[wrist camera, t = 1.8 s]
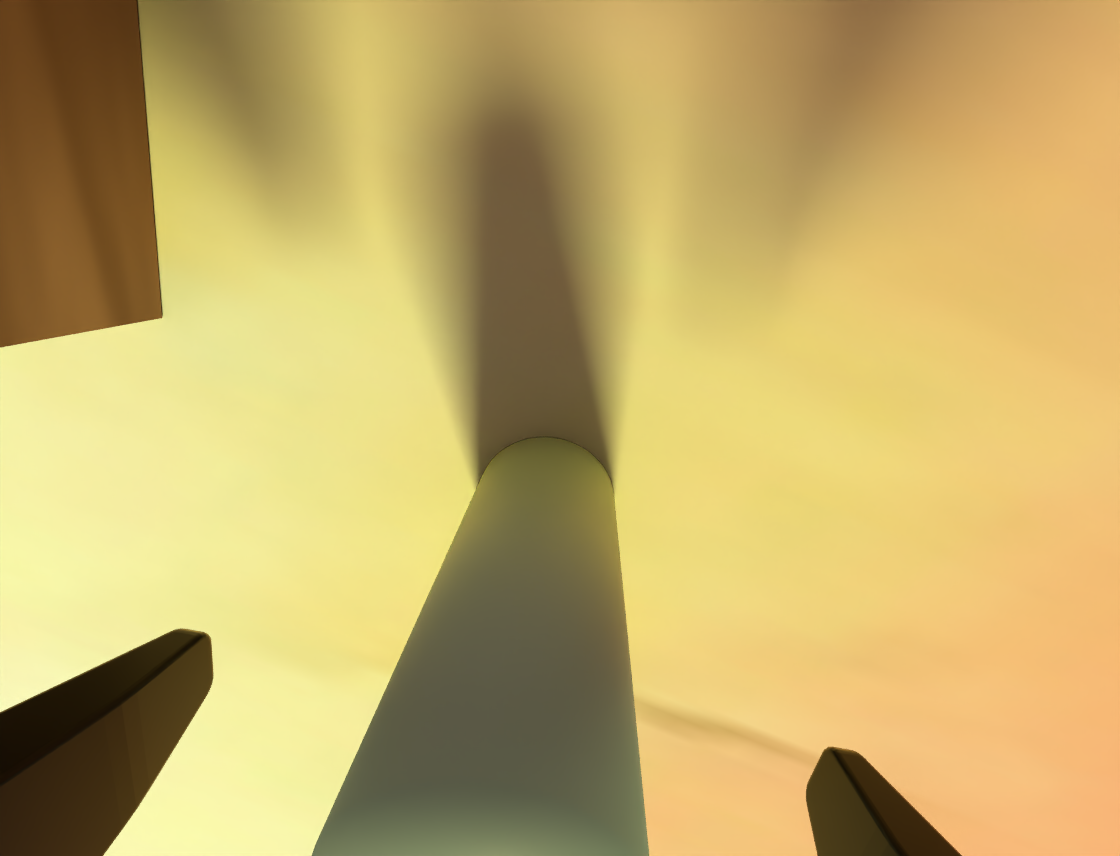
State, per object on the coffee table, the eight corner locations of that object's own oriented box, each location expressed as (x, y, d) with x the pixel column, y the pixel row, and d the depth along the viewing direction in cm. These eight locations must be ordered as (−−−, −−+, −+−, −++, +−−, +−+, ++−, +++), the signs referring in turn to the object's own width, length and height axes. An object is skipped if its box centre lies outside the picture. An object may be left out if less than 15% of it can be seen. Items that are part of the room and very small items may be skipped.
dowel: (627, 451, 13) (694, 816, 5) (599, 569, 15) (613, 1024, 6) (488, 425, 13) (311, 748, 5) (470, 545, 15) (306, 971, 6)
